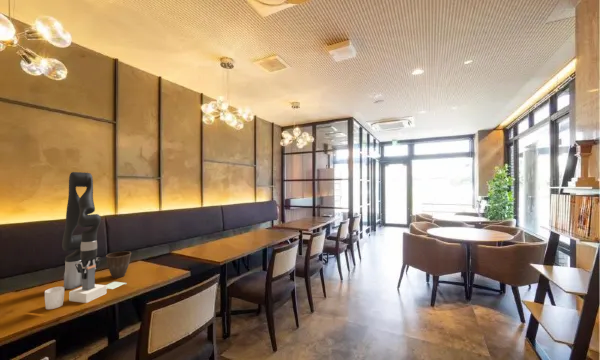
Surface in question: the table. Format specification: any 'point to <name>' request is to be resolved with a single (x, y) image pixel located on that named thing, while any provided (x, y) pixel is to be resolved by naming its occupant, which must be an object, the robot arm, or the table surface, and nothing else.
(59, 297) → the white cup
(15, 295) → the table surface
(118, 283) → the mat
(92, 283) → the plug
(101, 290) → the block
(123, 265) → the plant pot
